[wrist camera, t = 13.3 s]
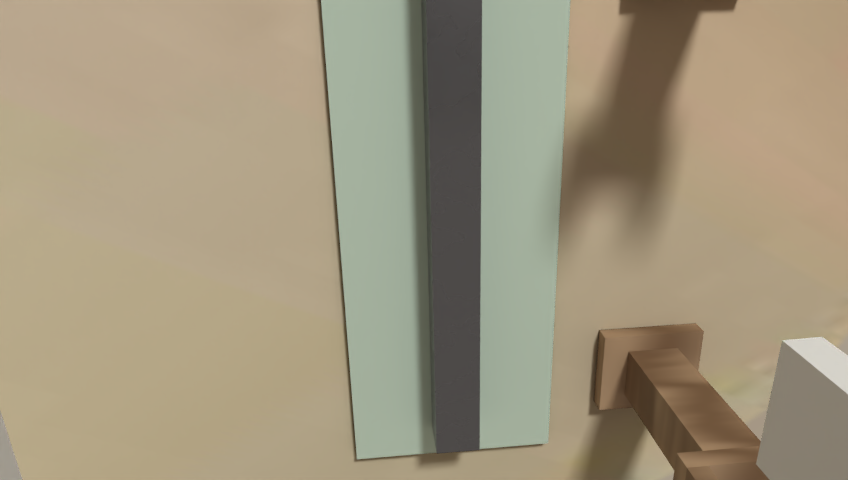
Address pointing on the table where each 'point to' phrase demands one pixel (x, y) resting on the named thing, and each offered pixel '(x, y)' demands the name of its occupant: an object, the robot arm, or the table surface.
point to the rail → (453, 215)
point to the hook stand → (675, 401)
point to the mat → (407, 216)
